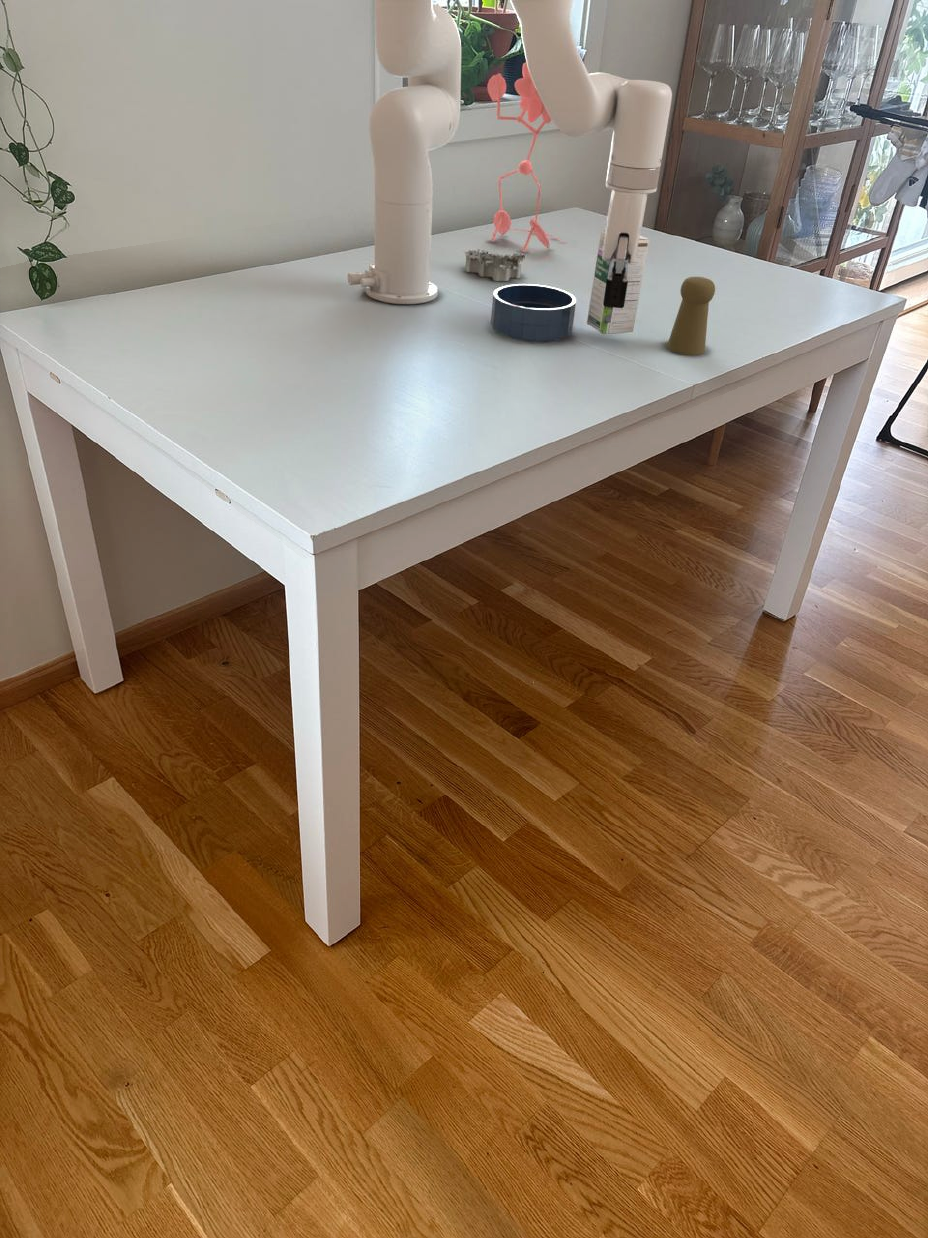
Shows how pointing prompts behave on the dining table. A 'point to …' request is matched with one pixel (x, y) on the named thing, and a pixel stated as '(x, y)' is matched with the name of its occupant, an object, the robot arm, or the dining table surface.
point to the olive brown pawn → (692, 317)
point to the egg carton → (494, 264)
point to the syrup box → (624, 318)
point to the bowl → (533, 312)
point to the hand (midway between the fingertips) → (614, 297)
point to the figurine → (535, 109)
